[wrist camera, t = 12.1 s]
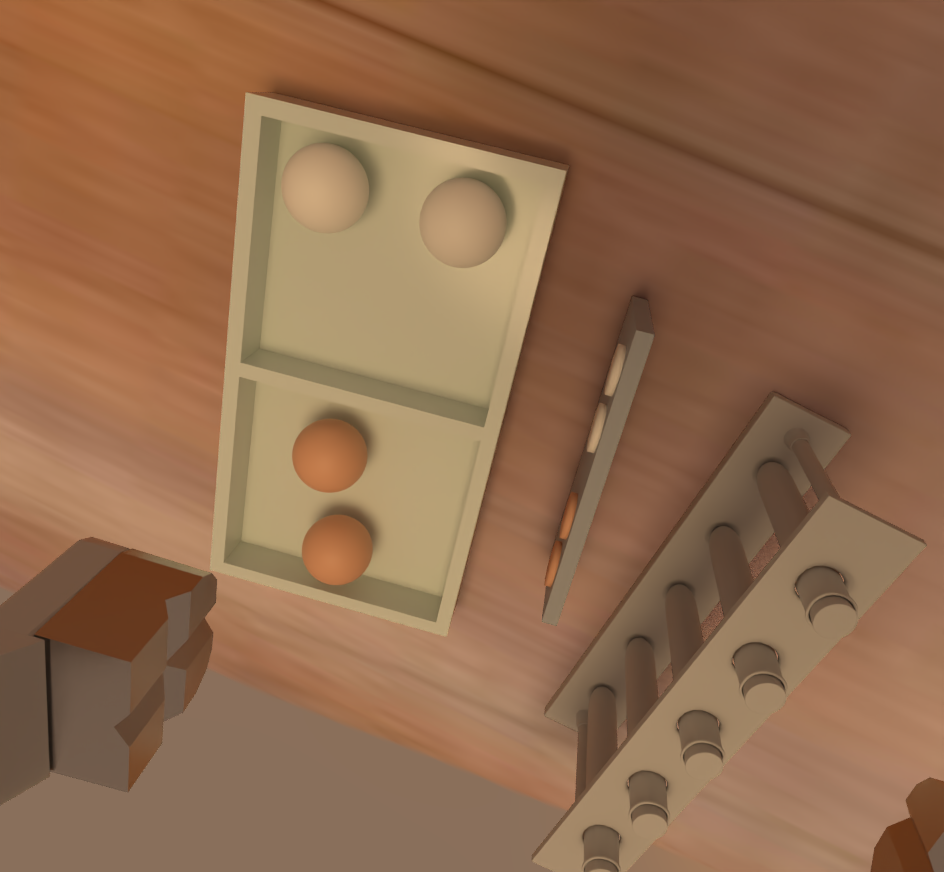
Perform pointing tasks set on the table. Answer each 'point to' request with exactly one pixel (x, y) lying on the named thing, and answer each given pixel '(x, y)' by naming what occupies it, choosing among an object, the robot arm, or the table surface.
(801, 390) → the table surface
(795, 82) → the table surface
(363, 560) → the terracotta ball
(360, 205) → the ivory ball
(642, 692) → the test tube rack
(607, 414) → the card
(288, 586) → the twin dish
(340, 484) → the terracotta ball
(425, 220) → the ivory ball
